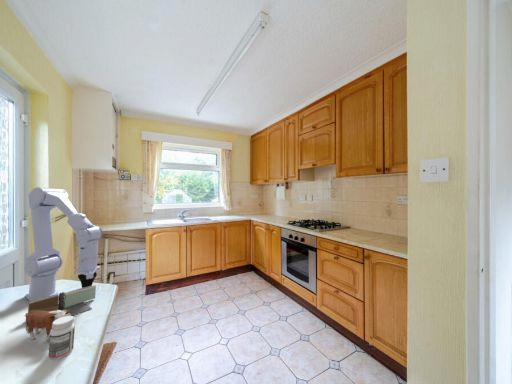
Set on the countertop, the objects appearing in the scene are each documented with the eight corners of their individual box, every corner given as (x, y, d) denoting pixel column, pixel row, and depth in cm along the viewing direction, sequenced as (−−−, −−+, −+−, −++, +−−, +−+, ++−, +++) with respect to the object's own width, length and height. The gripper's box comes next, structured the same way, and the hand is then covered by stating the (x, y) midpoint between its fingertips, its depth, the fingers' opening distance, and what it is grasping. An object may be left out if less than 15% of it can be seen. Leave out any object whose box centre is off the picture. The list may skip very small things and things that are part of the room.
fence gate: (64, 307, 73) (65, 293, 73) (63, 306, 73) (64, 292, 74) (95, 298, 80) (95, 285, 80) (93, 297, 81) (94, 284, 81)
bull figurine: (56, 346, 55) (58, 315, 55) (19, 339, 57) (21, 309, 58) (73, 336, 59) (75, 307, 59) (38, 329, 62) (40, 302, 62)
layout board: (25, 314, 69) (25, 313, 69) (78, 298, 81) (78, 297, 81) (35, 329, 62) (35, 327, 62) (91, 309, 73) (91, 308, 73)
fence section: (27, 319, 66) (28, 301, 66) (62, 307, 73) (63, 291, 74) (28, 320, 65) (29, 302, 66) (64, 309, 73) (65, 292, 73)
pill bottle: (59, 346, 55) (61, 314, 55) (78, 345, 55) (80, 314, 55) (42, 360, 50) (44, 325, 50) (63, 359, 50) (65, 324, 51)
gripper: (104, 259, 78) (102, 295, 78) (98, 252, 89) (96, 283, 88) (80, 263, 73) (77, 301, 73) (76, 255, 84) (74, 288, 83)
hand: (86, 292), depth 80 cm, fingers closed
